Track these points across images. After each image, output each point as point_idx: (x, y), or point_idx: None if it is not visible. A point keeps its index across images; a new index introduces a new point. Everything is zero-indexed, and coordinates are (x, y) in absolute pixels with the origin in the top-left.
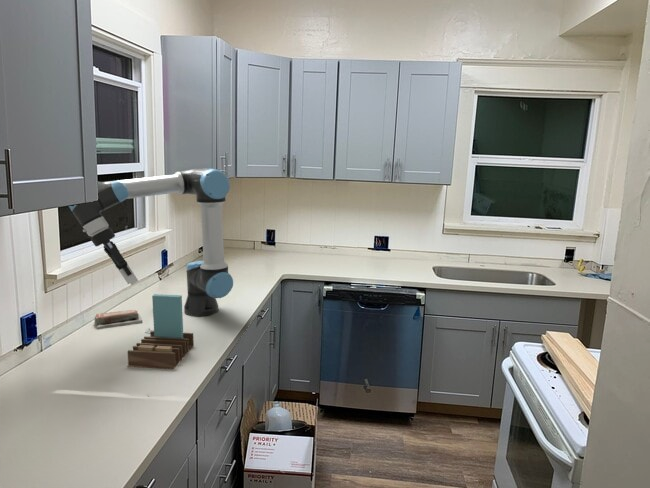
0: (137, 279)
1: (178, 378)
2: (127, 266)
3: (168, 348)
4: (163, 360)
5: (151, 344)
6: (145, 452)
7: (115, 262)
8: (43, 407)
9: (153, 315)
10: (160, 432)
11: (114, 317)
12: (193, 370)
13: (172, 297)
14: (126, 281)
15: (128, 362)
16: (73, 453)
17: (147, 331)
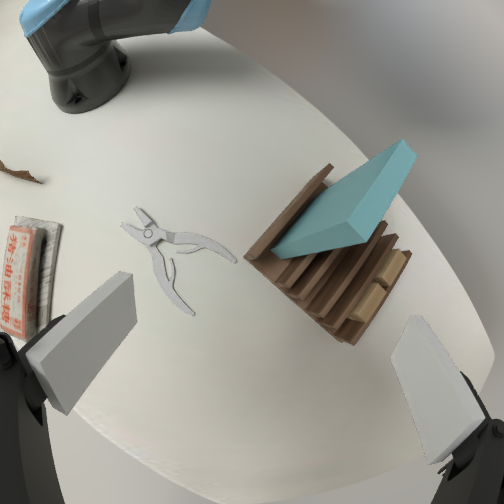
0: (427, 324)
1: (413, 262)
2: (475, 421)
3: (403, 259)
4: None
5: (348, 283)
6: (488, 338)
7: (57, 483)
8: (375, 450)
9: (321, 250)
10: (479, 320)
11: (30, 295)
12: (400, 227)
13: (405, 175)
14: (126, 335)
15: (340, 339)
16: None
17: (145, 237)
